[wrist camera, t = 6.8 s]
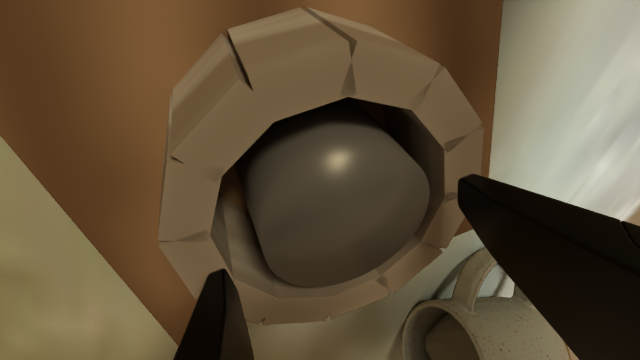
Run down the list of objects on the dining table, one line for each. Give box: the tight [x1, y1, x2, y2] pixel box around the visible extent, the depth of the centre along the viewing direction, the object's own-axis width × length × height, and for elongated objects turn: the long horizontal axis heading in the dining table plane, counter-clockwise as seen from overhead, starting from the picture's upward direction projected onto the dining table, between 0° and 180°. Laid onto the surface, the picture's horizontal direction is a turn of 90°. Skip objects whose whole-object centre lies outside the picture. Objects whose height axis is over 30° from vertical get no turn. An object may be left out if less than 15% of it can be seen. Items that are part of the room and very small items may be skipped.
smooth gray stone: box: [234, 97, 430, 287], centre depth 12 cm, size 5×5×4 cm
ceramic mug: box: [401, 247, 571, 360], centre depth 24 cm, size 11×8×8 cm
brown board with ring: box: [0, 0, 503, 346], centre depth 13 cm, size 16×16×6 cm
